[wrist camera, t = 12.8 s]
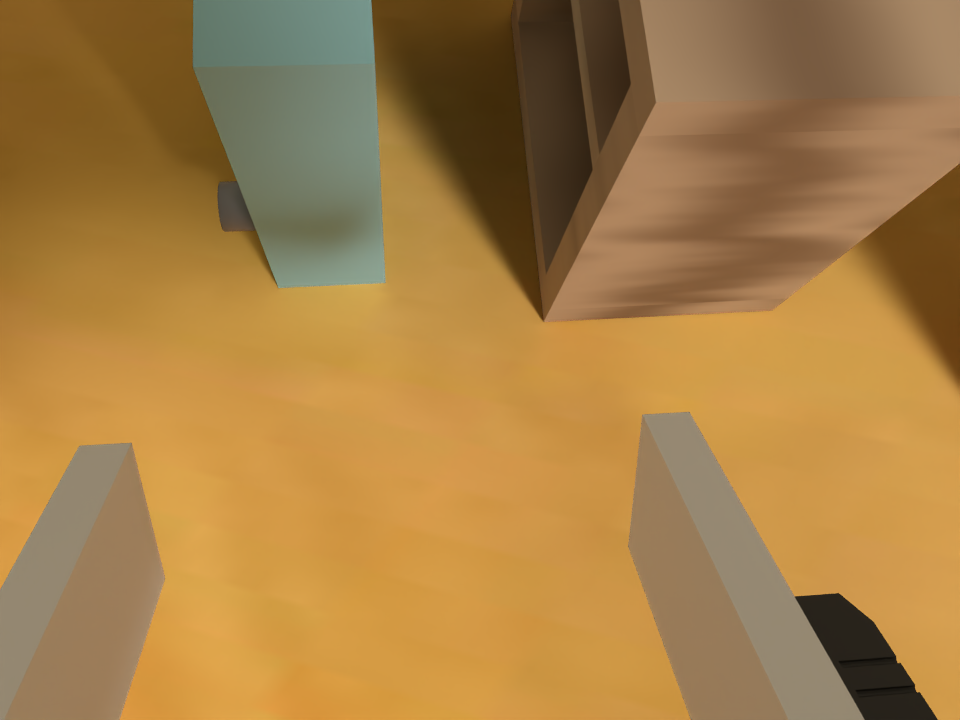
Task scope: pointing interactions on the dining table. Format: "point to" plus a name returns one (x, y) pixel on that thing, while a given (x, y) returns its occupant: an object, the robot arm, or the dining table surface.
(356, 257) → the door
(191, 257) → the dining table surface
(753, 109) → the cabinet
